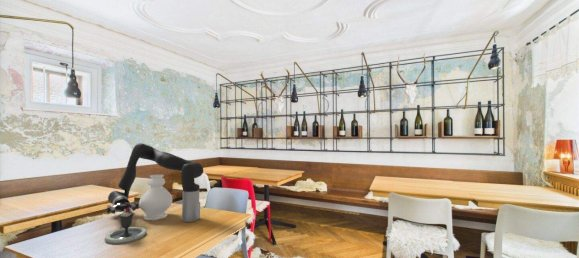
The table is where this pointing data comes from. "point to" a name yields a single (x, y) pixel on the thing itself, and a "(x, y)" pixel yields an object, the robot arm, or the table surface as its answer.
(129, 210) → the sundae
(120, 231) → the tray
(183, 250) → the table surface
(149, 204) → the decorative vase
